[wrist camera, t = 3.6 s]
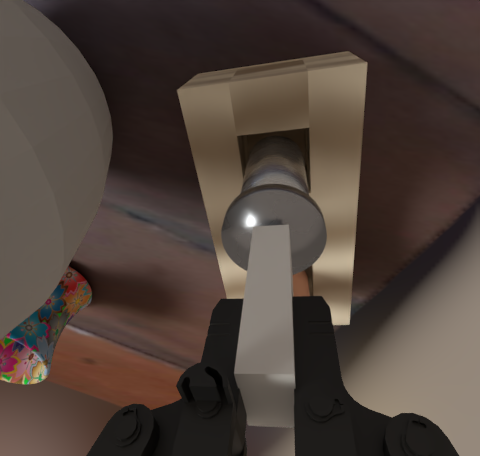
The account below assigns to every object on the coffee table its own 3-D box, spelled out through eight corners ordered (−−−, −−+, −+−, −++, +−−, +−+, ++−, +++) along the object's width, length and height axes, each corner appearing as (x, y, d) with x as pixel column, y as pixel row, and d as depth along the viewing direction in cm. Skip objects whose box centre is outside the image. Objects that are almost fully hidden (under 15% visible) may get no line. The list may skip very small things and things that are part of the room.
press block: (198, 73, 24) (176, 89, 19) (348, 51, 22) (367, 62, 17) (240, 282, 36) (233, 325, 31) (339, 279, 34) (349, 324, 29)
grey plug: (235, 132, 21) (212, 197, 14) (310, 123, 20) (327, 188, 13) (245, 196, 23) (230, 279, 16) (311, 190, 23) (326, 275, 15)
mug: (106, 273, 38) (54, 352, 29) (90, 316, 43) (42, 394, 34) (3, 230, 35) (-87, 301, 27) (-1, 280, 40) (-77, 354, 32)
